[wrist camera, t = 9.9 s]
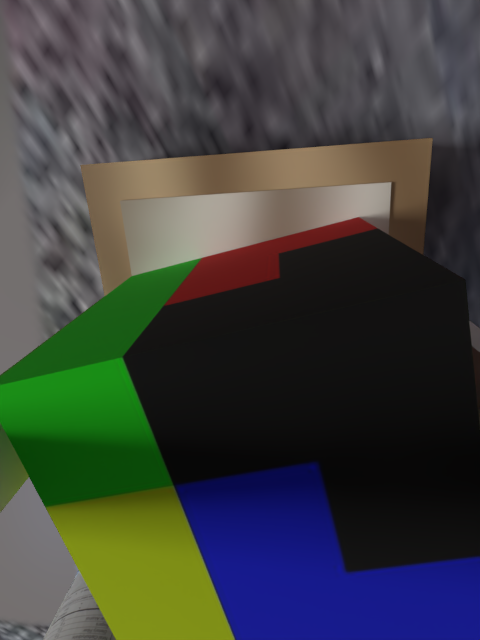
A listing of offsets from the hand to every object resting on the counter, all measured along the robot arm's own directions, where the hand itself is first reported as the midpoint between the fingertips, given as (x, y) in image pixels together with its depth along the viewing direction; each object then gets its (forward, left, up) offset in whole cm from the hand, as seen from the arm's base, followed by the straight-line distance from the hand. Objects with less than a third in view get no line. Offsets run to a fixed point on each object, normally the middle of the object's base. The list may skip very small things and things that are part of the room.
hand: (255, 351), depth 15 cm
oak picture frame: (0, 0, -9) cm, 9 cm away
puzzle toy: (0, +2, -4) cm, 4 cm away
